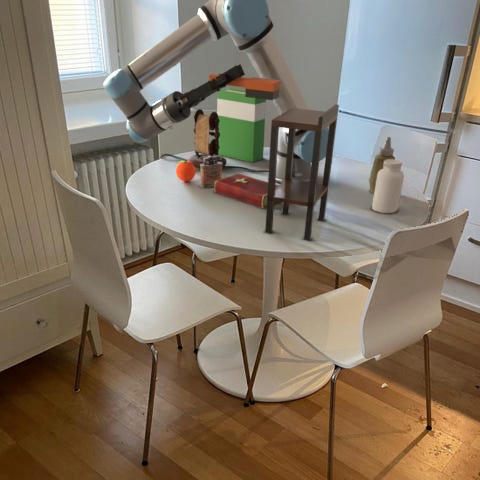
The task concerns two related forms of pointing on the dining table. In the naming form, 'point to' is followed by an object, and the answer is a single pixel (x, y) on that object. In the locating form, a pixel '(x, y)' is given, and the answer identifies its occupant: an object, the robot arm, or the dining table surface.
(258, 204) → the hardcover book
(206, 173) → the lighter
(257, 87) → the brush
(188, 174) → the clementine
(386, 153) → the squeeze bottle
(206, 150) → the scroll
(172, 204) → the dining table surface
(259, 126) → the green cereal box
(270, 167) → the metal plant stand
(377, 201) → the pill bottle
